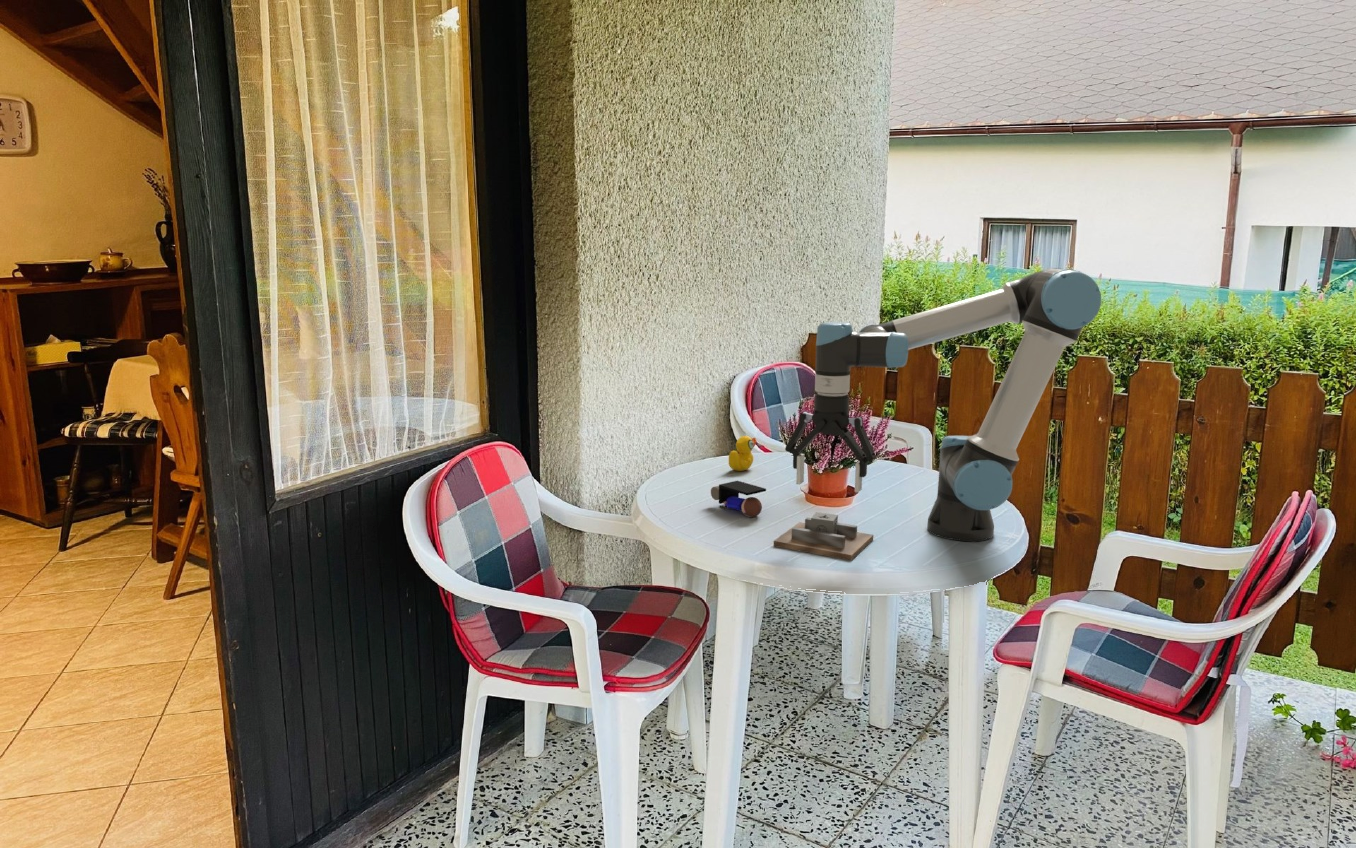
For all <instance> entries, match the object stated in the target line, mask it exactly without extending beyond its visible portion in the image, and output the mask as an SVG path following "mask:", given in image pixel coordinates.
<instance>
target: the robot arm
mask: <svg viewBox="0 0 1356 848" xmlns="http://www.w3.org/2000/svg"><path fill="white" fill-rule="evenodd" d="M1101 305H1102V293H1101V290H1100V288H1099V285H1098V284H1097V283H1096V281H1095V280H1094V279H1093V278H1092V277H1091V276H1090V275H1088V274H1086V273H1084V272H1082V271H1080V270H1077V269H1072V268H1067V269H1066V268H1065V269H1064V268H1059V267H1050V268H1046V269H1043V270H1040V271H1036V272H1034V273H1031V274H1029V275H1025V276H1023V277H1021V278H1018V279H1015V280H1012V281H1008V282H1005V283H1004V284H1003V286H1002V287H1001V288H1000V289H997V290H996V289H995V290H994V291H989V292H986V293H984V294H980V295H977V296H973V297H969V298H966V299H962V300H959V301H955V302H952V303H949V304H945V305H941V306H938V307H934V308H930V309H927V310H925V311H924V310H923V311H920V312H917V313H914V314H910V315H907V316H904V317H900V318H897V319H893V320H890V321H886V322H883V323H879V324H869V325H866V326H863V327H862V328H861V330H859V331H853V325H852V324H851V323H849V322H845V321H843V322H841V321H826V322H825V321H824V322H821V323H820V324H819V325H818V326H817V330H816V342H815V374H814V375H815V377H814V391H815V392H816V393H815V394H814V401H813V410H814V411H813V413H810V412H809V411H803V412H801V413H800V414H799V421H798V423H797V425H796V427H795V429H794V431H793V433H792V435H791V437H790V439H789V440H788V442H787V444H786V446H785V448H784V449H785V452H786V453H787V452H788V453H791V454H792V467H793V469H794V470H796V479H795V480H796V481H795V482H796V485H801V484H803V483H804V481H805V480H804V479H805V453H803V451H804V450H805V449H806V448H807V447H808V445H809V444H811V442H812V441H814V439H815V438H816V437H817V436H818V435H819V434H821V435H822V436H832V437H837V436H839V438H840V439H842V440H843V441H844V443H845V444H846V445H847V446H848V448H849V449H850V451H851V452H852V454H853V455H854V456H855V458H856V459H857V462H856V463H855V471H854V472H855V475H854V476H855V478H854V493H859V492H861V491H862V490H863V489H862V488H863V478H865V477H866V476H867V473H868V462H869V463H870V462H873V461H874V460H875V459H876V458H877V455H876V453H875V450H874V447H873V446H872V443H871V440H870V438H869V436H868V434H867V431H866V429H865V427H864V419H863V418H864V417H862V416H858V417H850V415H849V413H850V396H849V394H848V393H849V392H850V391H851V390H850V386H851V384H850V383H851V368H852V367H855V368H858V367H859V368H860V367H865V368H889V369H892V368H903V367H905V366H906V365H907V362H908V358H909V351H910V350H912V349H915V348H920V347H923V346H927V345H931V344H934V343H938V342H942V341H945V340H949V339H952V338H956V337H960V336H962V335H966V334H971V333H973V332H978V331H980V330H981V331H982V330H985V329H988V328H991V327H994V326H998V325H1003V324H1007V323H1010V322H1011V323H1012V324H1014V325H1019V324H1022V325H1023V328H1024V333H1023V336H1022V338H1021V340H1020V342H1019V344H1018V347H1017V348H1016V350H1015V353H1014V355H1013V357H1012V360H1011V361H1010V363H1009V365H1008V368H1007V370H1006V372H1005V374H1004V376H1003V379H1002V381H1001V382H1000V385H999V387H998V389H997V391H996V393H995V396H994V398H993V399H992V402H991V404H990V406H989V409H988V411H987V413H986V415H985V416H984V417H985V418H984V419H983V421H982V423H981V426H980V427H979V430H978V432H977V433H975V434H973V435H946V436H944V437H943V438H942V439H941V444H940V445H941V446H940V448H939V451H940V456H939V470H938V482H937V495H936V499H935V502H934V504H933V506H932V508H931V511H930V513H929V515H928V517H927V525H926V529H927V531H929V532H930V533H931V534H933V535H935V536H937V537H941V538H945V539H949V540H953V541H962V542H963V541H964V542H979V541H986V540H990V539H992V538H993V536H994V533H995V523H994V520H993V516H992V513H991V512H992V511H991V510H993V509H996V508H998V507H1000V506H1001V505H1003V504H1005V502H1006V501H1007V499H1009V497H1010V496H1011V493H1012V491H1013V477H1012V475H1013V473H1014V472H1015V469H1016V467H1017V465H1018V463H1019V460H1020V458H1019V454H1018V452H1017V448H1018V446H1019V443H1020V441H1021V439H1022V437H1023V435H1024V433H1025V432H1026V429H1027V427H1028V425H1029V422H1030V421H1031V418H1032V416H1033V414H1034V413H1035V411H1036V408H1037V406H1038V404H1039V402H1040V400H1041V398H1042V395H1044V392H1045V390H1046V387H1047V386H1048V383H1049V381H1050V379H1051V377H1052V376H1053V375H1052V374H1053V373H1054V371H1055V368H1056V367H1057V364H1058V363H1059V360H1060V358H1061V356H1062V353H1063V352H1064V350H1065V348H1066V347H1067V346H1070V345H1072V344H1075V343H1076V342H1077V340H1078V338H1079V336H1080V334H1081V332H1082V330H1083V328H1084V327H1085V326H1087V325H1088V324H1090V323H1091V322H1092V321H1093V320H1094V319H1095V318H1096V317H1097V315H1098V313H1099V311H1100V309H1101ZM811 421H812V422H813V424H814V425H815V426H814V428H812V430H811V431H810V432H809V433H808V434H807V436H805V438H803V440H802V441H801V442H800V443H799V444H798V445H797V443H798V441H799V439H800V437H801V436H802V435H803V432H804V430H805V429H806V426H807V425H808V423H810V422H811ZM850 424H851V425H852V426H851V427H852V428H853V429H854V431H855V434H856V436H857V438H858V441H859V443H860V445H859V444H858V442H857V441H856V439H855V438H854V437H853V435H852V433H851V431H850V430H849V428H848V426H849V425H850ZM796 445H797V446H796Z"/></svg>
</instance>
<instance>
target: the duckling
mask: <svg viewBox="0 0 1356 848" xmlns="http://www.w3.org/2000/svg"><path fill="white" fill-rule="evenodd" d="M756 444H757V439H756V437H753V438H751V437H750V436H748V435H747V436H746V435H743V436H740V437H739V438H738V439H737V440H736V443H735V448H736V450H732V451H730V453H729V454H728V466H729V467H730V469H732V470H733V471H737V472H742V471H747V470H749V469H750V468H751V467H752V465H753V463H754V455H753V453H752V451H753V448H755V446H756Z"/></svg>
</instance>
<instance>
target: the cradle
mask: <svg viewBox="0 0 1356 848" xmlns="http://www.w3.org/2000/svg"><path fill="white" fill-rule="evenodd" d="M811 518H812V517H806V518H805V519H804V522H800V521H799V522H798V523H796V524H794V526H792V527H791V528H789V529H788V530H787V531H785V532H784V533H782V534H781V535H780V536H779V537H777V538H776V539H774V540H773V546H774V547H776V546H777V547H778V548H783V549H788V550H793V551H794V550H795V551H800V552H803V553H810V554H814V555H820V556H826V557H830V558H836V559H842V560H847V561H853V560H854V558H855V557H857V556H858V555H859V554H860V553H861V552H862V551H863V550H864V549H865V548H866V547H867V546H868V545H869V544H871V542H872V541H874V534H870V533H865V532H858V525H854V524H847V523H843V522H837V534H831V533H826V532H820V531H814V530H811Z"/></svg>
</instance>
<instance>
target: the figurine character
mask: <svg viewBox="0 0 1356 848" xmlns="http://www.w3.org/2000/svg"><path fill="white" fill-rule="evenodd" d="M764 492H767V488H765V487H763V486H758V485H754V484H751V483H747V482H744V481H741V480H740V481H739V480H733V481H729V482H726V483H725V482H724V483H721V484H718V485H716V486H712V487H711V489H710V496H711V497H712V499H713V500H714V501H718V504H719V507H720V508H722V509H733V510H736V511H741V512H742V513H743V514H744V515H745V516H746V517H748V518H755V517H758V516H759V515H760V514H761V512H762V510H763V504H762V501H761V500H760V499H758V497H754V496H751V495H755V494H760V493H764ZM740 494H741V495H745V496H749V497H746V498H742V497H740ZM722 504H723V505H722Z"/></svg>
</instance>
